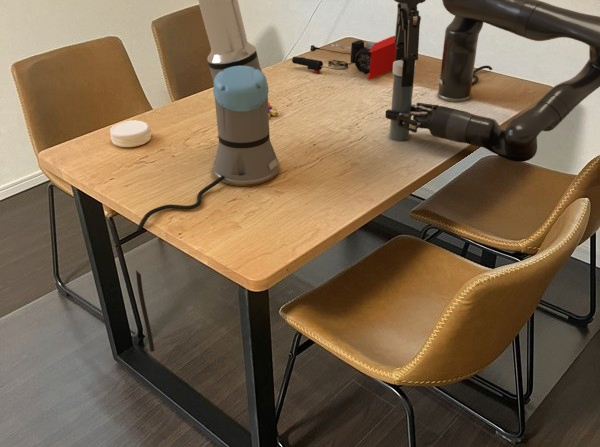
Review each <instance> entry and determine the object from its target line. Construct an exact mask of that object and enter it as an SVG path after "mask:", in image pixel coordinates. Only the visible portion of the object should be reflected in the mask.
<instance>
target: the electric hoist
mask: <svg viewBox="0 0 600 447" xmlns="http://www.w3.org/2000/svg"><path fill="white" fill-rule="evenodd" d="M394 40H395V35H391V36H389V37H387V38H385V39H382V40H379V41H373V40H372V41H371V40H370V41H368V42H367V43H366V44H365V41H364V40H360V39H359V40H356V41H352V42H351V45H350V46H349V45H345V44H343V43H342V44H337V43H331V45H330V46H331V47H334V48H341V49H349V50H350V52H349V53H348V52H341V51H335V50H329V49H324V48H320V47H318V46H315V45H314V44H312V45H310V52H313V53H314V52H315V51H316V50H322V51H326V52H332V53H339V54H342V55H343V54H344V55H350V63H349V62H347V61H344V60H337V59H333V60H328V61H327V62H328V66H324V63H323V61H322V60H317V59H312V58H306V57H299V56H292V59H291V62H292V63H293V64H296V65H300V66H304V67H307V70H311V71H313V72H314V73H315V74H319V73H321V70H322V69H323V68H326V69H331V70H337V71H345V70H347V69H349V65H352V64H354V65H355V67H356V69H357V70H358V71H359V72H360V73H362V74H365V75H368V76H367V78H366V80H368V81H371V80H373V79H376V78H377V77H380V76H382V75H384V74H387V73H388V72H390V71H393V62H395V58H396V49H398V48H396V43H395V42H394ZM343 46H344V47H343ZM404 49H405V48H404Z"/></svg>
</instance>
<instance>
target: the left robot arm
mask: <svg viewBox="0 0 600 447" xmlns="http://www.w3.org/2000/svg"><path fill="white" fill-rule="evenodd" d="M393 1H394V2H395V3H397V6H396V7H397V13H396V14H397V15H396V23H395V32H394V36H395V40H394V42H395V43H396V48H398V49H396V58H395V61H397V60H402V61H403V68H402V81H401V87H413V88H414V82H413V79H414V80H415V75H414V68H415V62H416V61H418V60H419V46H420V26H421V20H422V16H421V15H420V11H419V10H418V5H419V4H423V3H425V2H426V1H427V0H393ZM197 2H198V5H199V6H198V7H199V9H200V13H201V17H202V20H203V24H204V28H205V32H206V34H207V35H206V36H207V39H208V42H209V46H210V49H211V50H210V52H209V54H208V56H207V58H206V60H207V63H208V67H209V71H210V75H211V78H212V81H213V82H212V83H213V87H212V92H213V97H214V103H215V105H214V106H215V115H216V126H217V135H218V145H217V149H216V153H215V159H214V162H213V167H212V168H213V176H214V177H215V180H214V181H212V182H211V183H209V184H208V185H206V186H205V187H204V188H201V189H200V191H199V192H198V193H197V196H196V202H195V203H194V204H189V205H183V204H163V205H161V206H158V207H154V208H152V209H151V210H148V211H147V212H146V213H145V214H144V215H143V217H142V219H141V220H140V222H139V224H138V226H137V228H136V232H140V231H142V230H143V228H144V225H145V224H146V222H147V221H148V220H149V218H150V217H151V216H153V215H154V214H155V213H158V212H161V211H165V210H169V209H170V210H172V209H173V210H183V211H187V210H194V209H197V208H199V207H200V206H201V204H202V196H203V195H204V194H205V193H206V192H207V191H209V190H210V189H212V188H213V187H215V186H216V185H218V184H220V183H223V184H225V185H228V186H229V185H230V186H234V187H251V186H252V187H253V186H257V185H261V184H265V183H267V182H269V181H271V180H273V179H274V178H275V177H276V176H277V175H278V174H279V171H280V166H279V164H280V163H279V160H278V156H277V154H276V151H275V149H274V146H273V144H272V142H271V138H270V136H271V135H270V134H271V133H270V118H269V112H268V102H269V84H268V80H267V79H268V78H267V76H266V75H265V73H264V72H263V70H262V68H261V64H260V60H259V57H258V52H257V48H256V46H255V45H253V44H252V43H250V42H249V41H248V38H247V37H248V36H247V34H246V29H245V25H244V21H243V16H242V13H241V7H240V4H239V0H197ZM404 48H405V49H404ZM135 275H136V284H137V291H138V297H139V302H140V308H141V312H142V317H143V321H144V325H145V330H146V335H147V341H148V344H149V351H150V352H151V353H152V352H153V353H154V352H155V345H154V339H153V334H152V329H151V324H150V320H149V315H148V311H147V306H146V301H145V297H144V296H145V295H144V290H143V282H142V274H141V273H140V272H139V271H138V270H135Z"/></svg>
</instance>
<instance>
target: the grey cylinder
mask: <svg viewBox="0 0 600 447" xmlns="http://www.w3.org/2000/svg"><path fill="white" fill-rule="evenodd" d="M392 78H393V79H392V80H393V81H392V95H391V108H390V110H393V111H397V112H400V113H409V112H411V105H413V104H412V103H413V92H414V86H413V87H401V81H402V76H397V75H394V74H393V77H392ZM414 80H415V78H414V79H413V83H414V82H415V81H414ZM404 117H405V116H404ZM406 118H408V117H406ZM389 123H390V125H389V138H390V139H392V140H393V141H406V140H408V139H409V138H410V131H409V130H406V129H404V128H401V127H399V126H397V121H395V120H391V119H390V122H389Z"/></svg>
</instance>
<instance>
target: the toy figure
mask: <svg viewBox="0 0 600 447" xmlns="http://www.w3.org/2000/svg"><path fill="white" fill-rule="evenodd" d="M268 112H269V119H270V118H271V116H273V117H276V116H277V115H278V111H276V110H275V109H273V106H272V105H271V102H270V101H268Z"/></svg>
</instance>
